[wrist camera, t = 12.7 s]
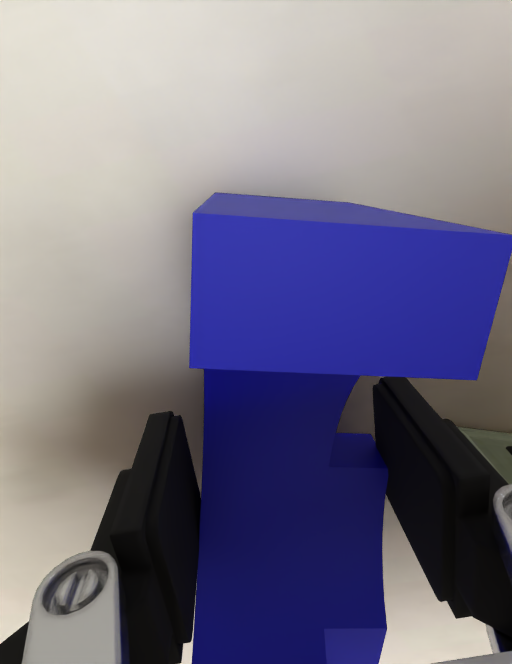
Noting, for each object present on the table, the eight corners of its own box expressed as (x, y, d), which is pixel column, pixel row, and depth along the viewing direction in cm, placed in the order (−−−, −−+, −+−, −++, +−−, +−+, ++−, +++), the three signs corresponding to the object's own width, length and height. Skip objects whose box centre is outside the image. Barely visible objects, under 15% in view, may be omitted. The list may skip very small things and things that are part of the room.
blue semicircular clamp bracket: (340, 594, 14) (417, 884, 8) (199, 594, 13) (177, 897, 8) (412, 207, 10) (662, 246, 4) (215, 192, 9) (193, 212, 4)
